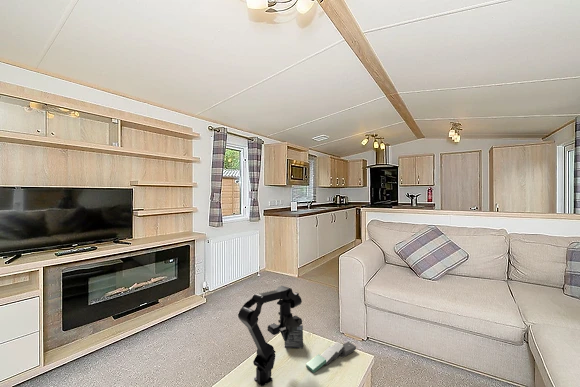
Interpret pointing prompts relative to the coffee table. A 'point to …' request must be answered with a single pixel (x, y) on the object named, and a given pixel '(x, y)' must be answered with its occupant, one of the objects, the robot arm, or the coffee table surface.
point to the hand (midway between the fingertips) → (285, 340)
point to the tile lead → (316, 363)
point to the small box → (295, 338)
